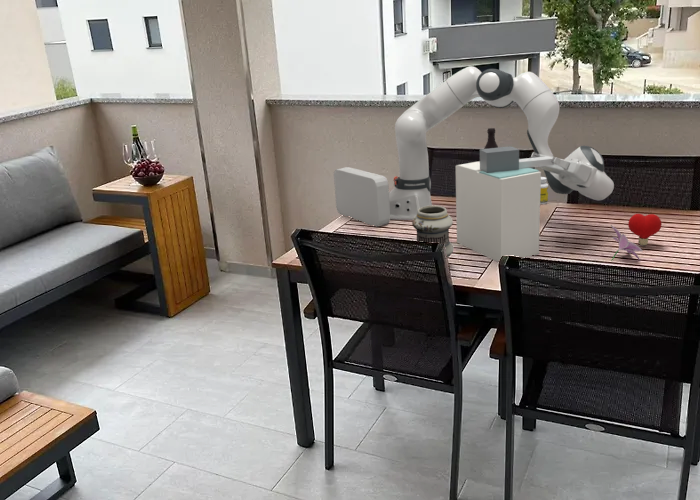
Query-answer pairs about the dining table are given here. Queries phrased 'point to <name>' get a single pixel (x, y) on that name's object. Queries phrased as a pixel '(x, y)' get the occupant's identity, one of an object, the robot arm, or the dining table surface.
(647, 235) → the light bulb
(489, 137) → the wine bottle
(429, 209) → the apothecary jar
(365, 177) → the rounded white slab
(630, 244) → the lily
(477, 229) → the stand
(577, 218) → the dining table surface
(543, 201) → the supplement bottle
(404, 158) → the robot arm
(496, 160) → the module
